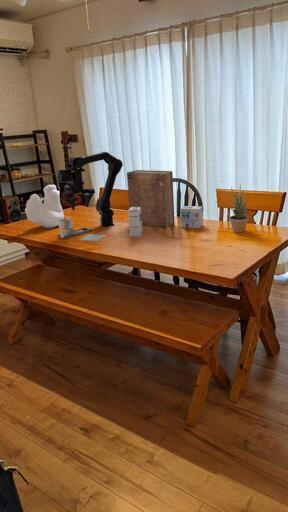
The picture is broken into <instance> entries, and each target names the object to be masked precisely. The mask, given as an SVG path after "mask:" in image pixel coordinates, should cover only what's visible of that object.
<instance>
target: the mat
mask: <svg viewBox="0 0 288 512" xmlns="http://www.w3.org/2000/svg"><path fill="white" fill-rule="evenodd" d="M104 237H107V234H97V233H95V234H94V233H93V234H92V233H91V234H90V233H87V234H86V235H84V236H83V237H80V238H79V239H78V241H89V242H99V241H101V240H102V239H103V238H104Z"/></svg>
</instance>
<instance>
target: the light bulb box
mask: <svg viewBox="0 0 288 512" xmlns="http://www.w3.org/2000/svg"><path fill="white" fill-rule="evenodd" d="M203 223H204V222H203V206H197V205H195V206H191V205H184V206H182V207H181V208H180V225H181V228H185V229H186V228H187V229H188V228H189V229H200V228H202V227H203Z"/></svg>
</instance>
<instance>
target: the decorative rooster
mask: <svg viewBox="0 0 288 512" xmlns="http://www.w3.org/2000/svg"><path fill="white" fill-rule="evenodd" d="M42 191H43V193H44V197H42V198H41V197H40V196H39V195H38V194H36V193H34V194H33V193H32V194H31V195H30V196H29V198H28V200H27V202H26V204H25V209H24V212H25V215H26V218H27V220H28V221H30V222H32V223H33V224H35V223H38V224H39V225H40V226H41V227H43V228H46V229H52V228H56V227H57V226H58V227H59V222H58V220H60V219H64V218H65V215H64V211H63V210H64V209H63V207H62V204H61V202H60V201H61V197H60V190H57V185H55V184H48V185H46V186H44V188H43V190H42ZM42 201H43V202H42Z"/></svg>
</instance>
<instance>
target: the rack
mask: <svg viewBox="0 0 288 512" xmlns="http://www.w3.org/2000/svg"><path fill="white" fill-rule="evenodd" d="M79 230H83V231H82V232H78V233H75V231H79ZM91 232H92V233H93V228H88V227H81V228H77V229H74V234H71V235H67V236H64V238H63V239H64V240H67V239H70V238H73V237H78V236H80V235H81V236H82V235H84V234H89V233H91ZM57 237H58V238H61V237H60V233H59V234H57Z"/></svg>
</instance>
